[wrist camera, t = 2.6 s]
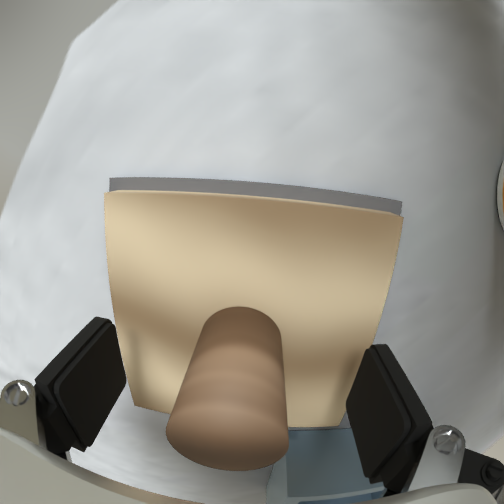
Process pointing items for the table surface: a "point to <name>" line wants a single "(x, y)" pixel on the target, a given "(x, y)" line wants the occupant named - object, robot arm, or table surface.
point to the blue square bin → (320, 471)
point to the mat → (256, 191)
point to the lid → (244, 313)
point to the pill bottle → (501, 195)
